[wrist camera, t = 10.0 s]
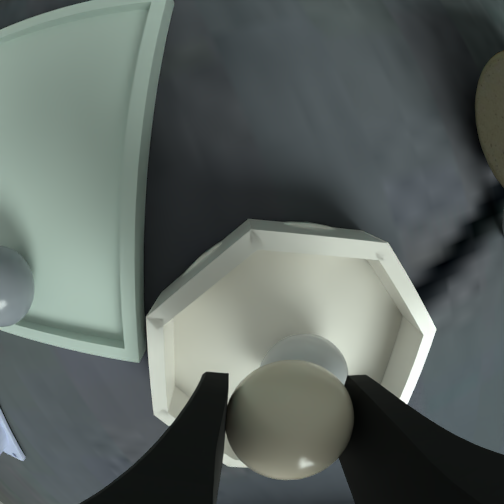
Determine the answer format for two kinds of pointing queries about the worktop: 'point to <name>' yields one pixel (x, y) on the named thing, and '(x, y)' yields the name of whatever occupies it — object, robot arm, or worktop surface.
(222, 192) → the worktop surface
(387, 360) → the stoneware bowl
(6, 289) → the pebble slate
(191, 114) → the worktop surface
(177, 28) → the worktop surface
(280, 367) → the beige round ball
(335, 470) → the worktop surface
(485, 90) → the ceramic mug
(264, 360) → the pebble grey
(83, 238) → the parts tray
